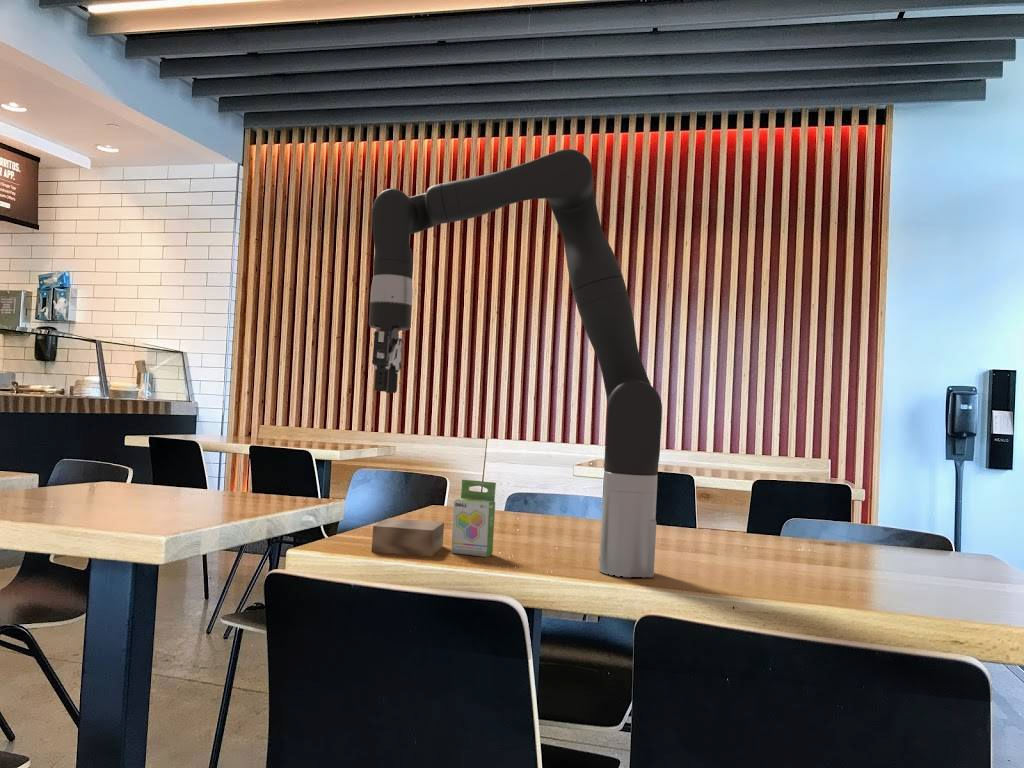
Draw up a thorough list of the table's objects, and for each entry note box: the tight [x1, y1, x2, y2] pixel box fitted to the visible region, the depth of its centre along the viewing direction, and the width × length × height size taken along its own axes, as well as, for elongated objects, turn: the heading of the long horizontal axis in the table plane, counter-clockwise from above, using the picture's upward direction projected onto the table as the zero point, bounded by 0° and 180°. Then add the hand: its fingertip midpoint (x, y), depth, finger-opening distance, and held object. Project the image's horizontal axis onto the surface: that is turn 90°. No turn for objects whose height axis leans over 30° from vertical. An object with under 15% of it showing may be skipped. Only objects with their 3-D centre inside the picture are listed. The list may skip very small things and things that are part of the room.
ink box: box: [451, 479, 497, 558], centre depth 149 cm, size 7×4×13 cm, turn 73°
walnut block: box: [371, 517, 445, 557], centre depth 150 cm, size 11×11×5 cm
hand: (386, 392), depth 145 cm, fingers open, 8 cm apart
